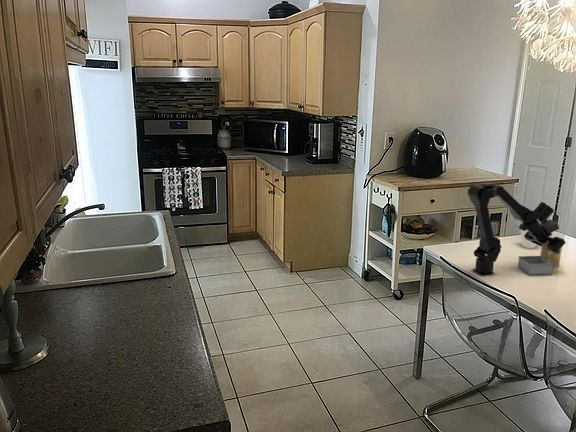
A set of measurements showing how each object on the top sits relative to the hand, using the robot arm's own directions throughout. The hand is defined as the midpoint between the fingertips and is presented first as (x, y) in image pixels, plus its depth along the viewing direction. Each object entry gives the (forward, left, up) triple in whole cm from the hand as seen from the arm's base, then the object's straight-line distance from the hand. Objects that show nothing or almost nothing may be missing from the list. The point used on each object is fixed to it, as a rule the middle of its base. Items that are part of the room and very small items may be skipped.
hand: (553, 250), depth 213 cm
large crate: (-13, -4, -7) cm, 15 cm away
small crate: (-1, 0, -7) cm, 7 cm away
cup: (+8, +23, -7) cm, 25 cm away
